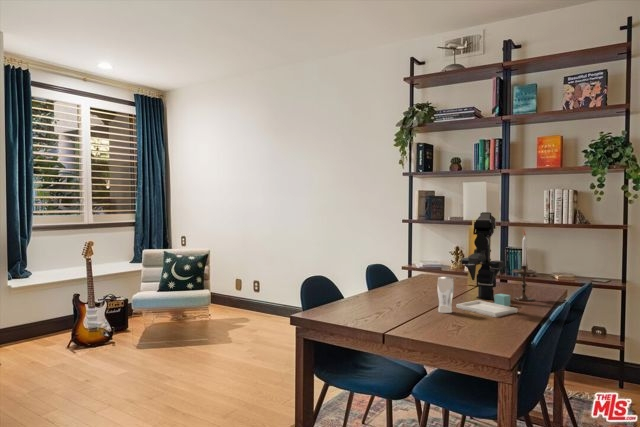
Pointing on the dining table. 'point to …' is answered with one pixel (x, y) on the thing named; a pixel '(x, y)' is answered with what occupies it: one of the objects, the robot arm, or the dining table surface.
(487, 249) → the robot arm
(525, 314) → the dining table surface
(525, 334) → the dining table surface
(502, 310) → the tray
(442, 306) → the beer glass
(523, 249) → the candlestick
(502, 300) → the block
